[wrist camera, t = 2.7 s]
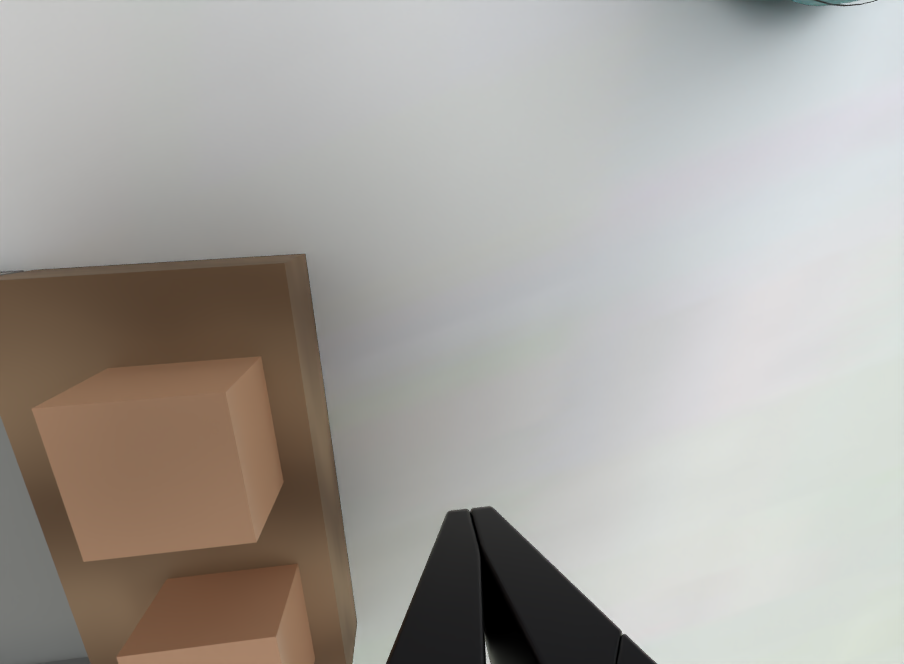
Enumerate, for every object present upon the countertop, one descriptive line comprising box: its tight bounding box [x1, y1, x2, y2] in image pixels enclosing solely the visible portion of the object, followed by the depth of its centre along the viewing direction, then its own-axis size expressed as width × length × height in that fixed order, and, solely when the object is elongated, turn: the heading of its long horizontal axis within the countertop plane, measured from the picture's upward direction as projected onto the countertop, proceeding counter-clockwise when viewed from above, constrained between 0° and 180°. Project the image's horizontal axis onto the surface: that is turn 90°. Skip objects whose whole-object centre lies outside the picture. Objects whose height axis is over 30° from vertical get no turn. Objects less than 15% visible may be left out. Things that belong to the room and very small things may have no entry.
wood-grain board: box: [0, 254, 357, 664], centre depth 14 cm, size 15×8×2 cm, turn 3°
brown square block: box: [116, 564, 315, 664], centre depth 13 cm, size 4×4×2 cm
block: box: [32, 356, 284, 562], centre depth 11 cm, size 4×4×2 cm
